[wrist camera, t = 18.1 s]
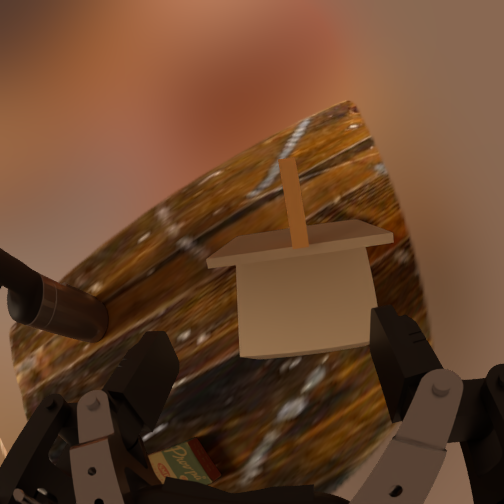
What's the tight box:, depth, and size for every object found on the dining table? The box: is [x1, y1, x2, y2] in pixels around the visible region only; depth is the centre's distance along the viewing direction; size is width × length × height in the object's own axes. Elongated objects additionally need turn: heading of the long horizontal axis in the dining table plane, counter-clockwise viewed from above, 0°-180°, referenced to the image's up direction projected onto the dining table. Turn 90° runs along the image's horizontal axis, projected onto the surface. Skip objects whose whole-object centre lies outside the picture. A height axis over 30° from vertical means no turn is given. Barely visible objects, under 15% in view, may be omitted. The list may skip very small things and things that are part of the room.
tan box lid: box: [206, 157, 394, 269], centre depth 26 cm, size 14×15×7 cm
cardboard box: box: [236, 247, 378, 359], centre depth 36 cm, size 14×16×12 cm
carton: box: [148, 437, 221, 485], centre depth 32 cm, size 8×16×4 cm, turn 121°
